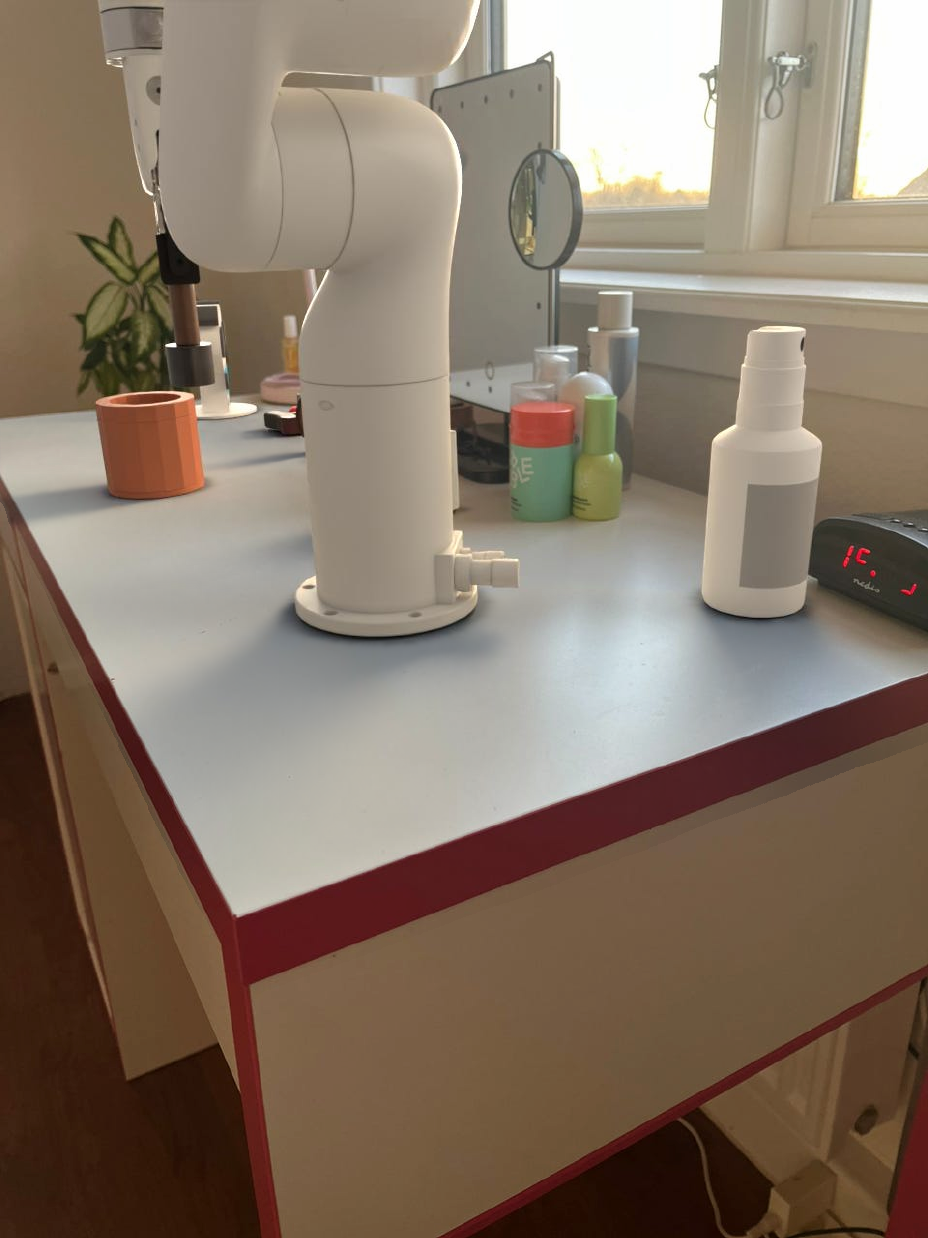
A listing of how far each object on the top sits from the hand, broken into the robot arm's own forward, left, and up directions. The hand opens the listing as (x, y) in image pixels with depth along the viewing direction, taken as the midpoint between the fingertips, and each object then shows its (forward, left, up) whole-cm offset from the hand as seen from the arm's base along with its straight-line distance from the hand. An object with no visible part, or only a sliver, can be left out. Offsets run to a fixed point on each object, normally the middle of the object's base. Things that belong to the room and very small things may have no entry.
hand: (180, 281), depth 87 cm
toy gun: (0, -39, -20) cm, 44 cm away
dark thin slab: (-8, -23, -20) cm, 32 cm away
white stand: (+17, -50, -20) cm, 57 cm away
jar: (+8, -7, -20) cm, 23 cm away
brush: (0, 0, -9) cm, 9 cm away
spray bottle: (-47, +23, -20) cm, 56 cm away
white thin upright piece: (-20, +1, -20) cm, 29 cm away
